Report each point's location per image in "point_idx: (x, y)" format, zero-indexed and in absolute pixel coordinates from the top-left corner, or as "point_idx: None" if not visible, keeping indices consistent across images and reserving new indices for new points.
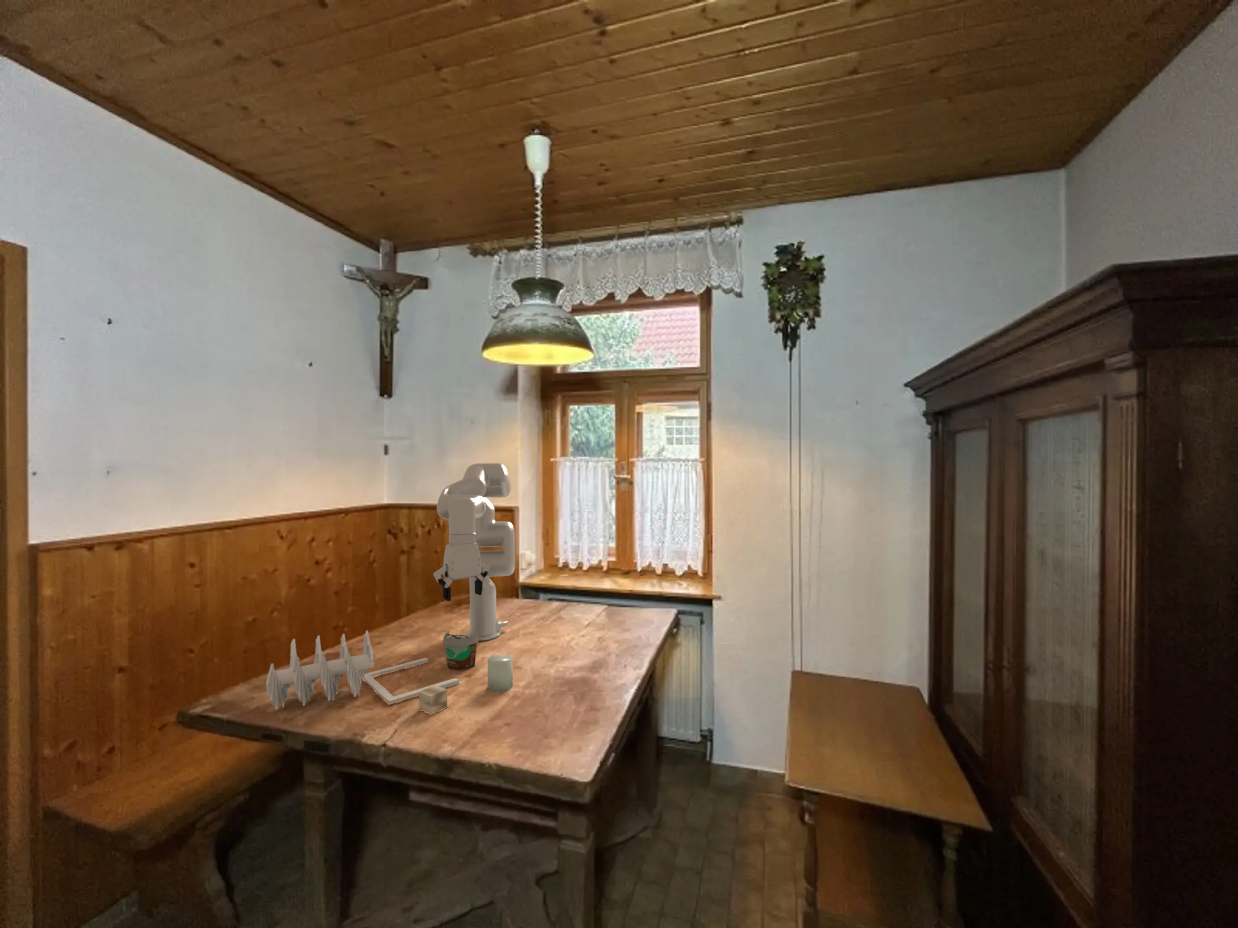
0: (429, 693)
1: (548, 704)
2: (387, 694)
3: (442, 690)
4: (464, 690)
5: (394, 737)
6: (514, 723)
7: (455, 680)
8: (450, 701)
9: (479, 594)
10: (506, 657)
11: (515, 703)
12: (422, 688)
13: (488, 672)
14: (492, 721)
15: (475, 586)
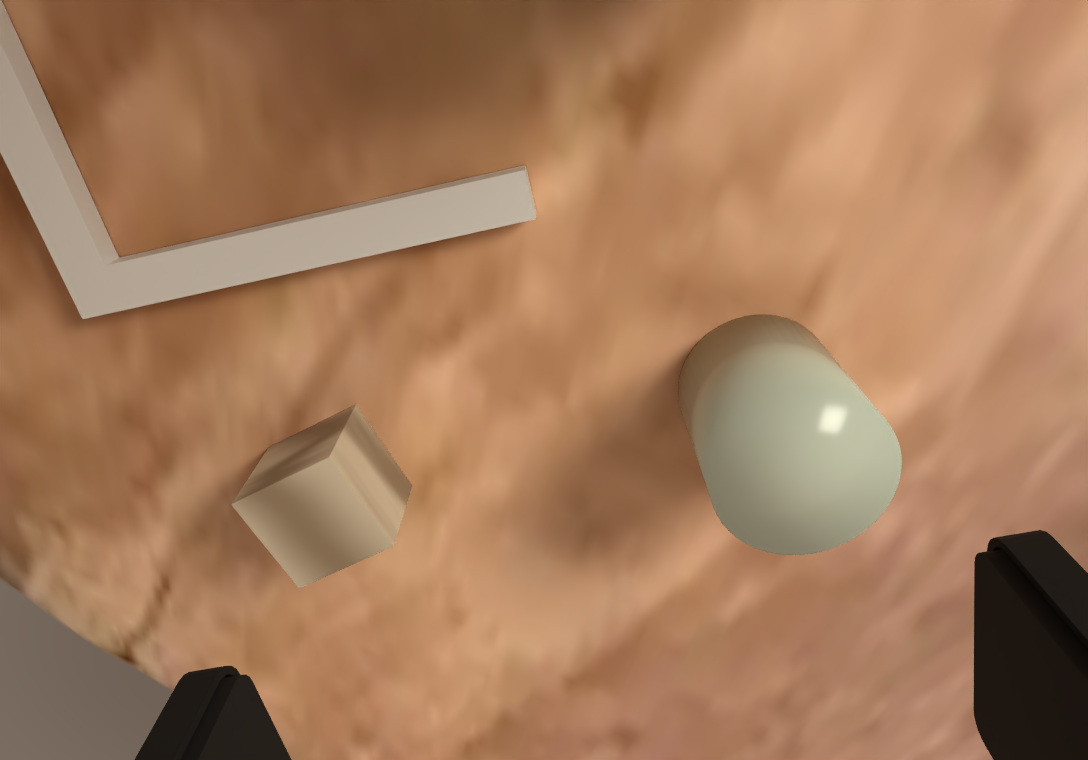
0: (291, 550)
1: (859, 677)
2: (60, 208)
3: (367, 547)
4: (544, 330)
5: (163, 630)
6: (651, 743)
7: (512, 215)
8: (440, 428)
9: (982, 731)
10: (861, 468)
11: (733, 602)
12: (285, 233)
13: (695, 440)
14: (575, 693)
15: (1084, 725)
